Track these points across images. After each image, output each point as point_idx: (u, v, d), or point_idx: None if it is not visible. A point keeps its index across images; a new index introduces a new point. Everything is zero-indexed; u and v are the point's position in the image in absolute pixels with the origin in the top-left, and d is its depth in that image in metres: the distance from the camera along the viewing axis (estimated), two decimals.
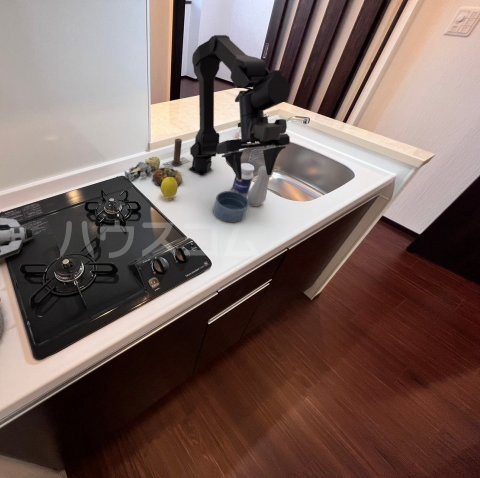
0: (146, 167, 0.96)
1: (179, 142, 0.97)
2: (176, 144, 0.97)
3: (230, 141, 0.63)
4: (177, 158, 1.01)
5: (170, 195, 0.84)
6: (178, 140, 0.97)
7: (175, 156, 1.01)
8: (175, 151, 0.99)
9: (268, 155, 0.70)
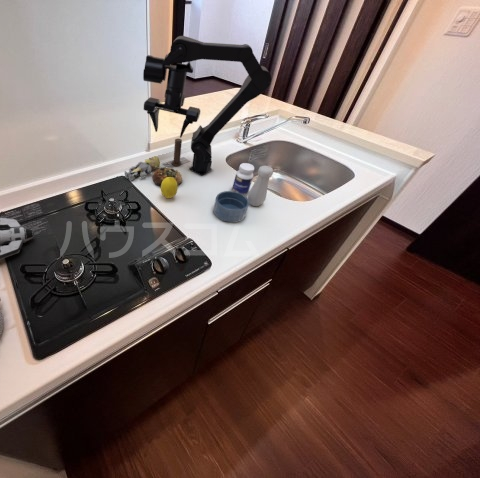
0: (146, 167, 0.96)
1: (179, 142, 0.97)
2: (176, 144, 0.97)
3: None
4: (177, 158, 1.01)
5: (170, 195, 0.84)
6: (178, 140, 0.97)
7: (175, 156, 1.01)
8: (175, 151, 0.99)
9: (156, 116, 0.90)
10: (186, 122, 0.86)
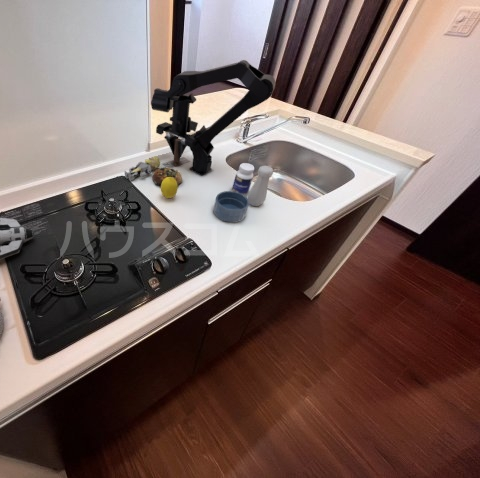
0: (146, 167, 0.96)
1: None
2: (176, 144, 0.97)
3: None
4: (177, 158, 1.01)
5: (170, 195, 0.84)
6: (178, 140, 0.97)
7: (175, 156, 1.01)
8: (175, 151, 0.99)
9: (173, 141, 0.99)
10: (179, 144, 0.94)
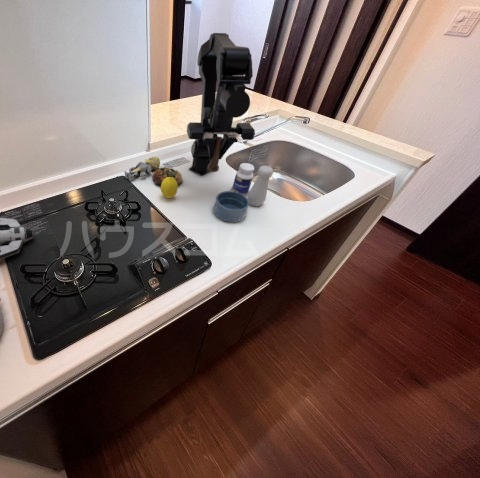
0: (146, 167, 0.96)
1: (222, 140, 0.76)
2: (219, 144, 0.76)
3: None
4: (218, 160, 0.80)
5: (170, 195, 0.84)
6: (220, 138, 0.76)
7: (216, 159, 0.79)
8: (217, 153, 0.78)
9: None
10: (231, 142, 0.74)
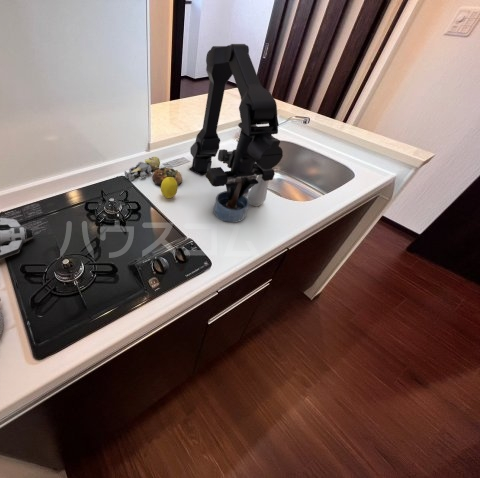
0: (146, 167, 0.96)
1: (242, 182, 0.75)
2: (240, 186, 0.75)
3: None
4: None
5: (170, 195, 0.84)
6: (240, 180, 0.74)
7: (236, 200, 0.78)
8: (237, 194, 0.77)
9: None
10: (252, 184, 0.73)
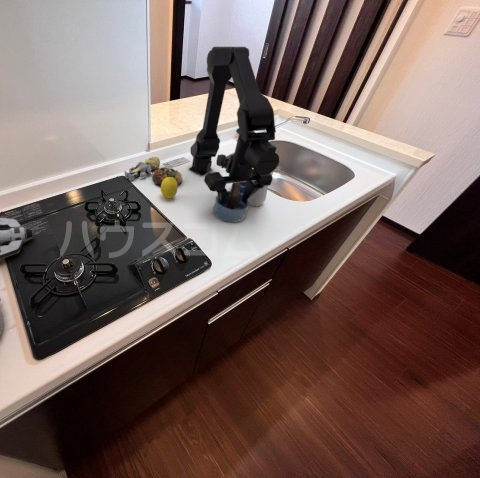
0: (146, 167, 0.96)
1: (240, 186, 0.75)
2: (238, 190, 0.75)
3: None
4: (235, 204, 0.79)
5: (170, 195, 0.84)
6: (238, 185, 0.75)
7: (234, 204, 0.79)
8: (235, 198, 0.77)
9: None
10: (257, 188, 0.74)
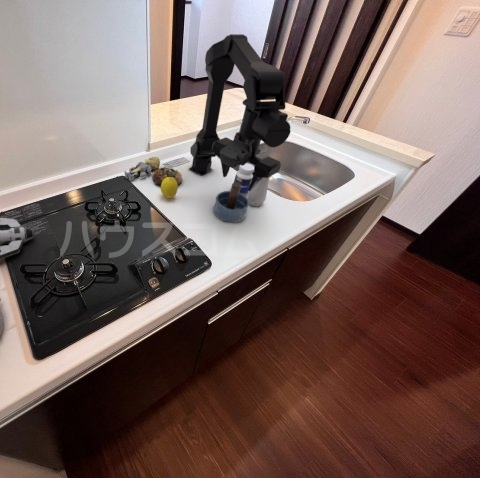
0: (146, 167, 0.96)
1: (240, 186, 0.75)
2: (238, 190, 0.75)
3: (215, 143, 0.72)
4: (235, 204, 0.79)
5: (170, 195, 0.84)
6: (238, 185, 0.75)
7: (234, 204, 0.79)
8: (235, 198, 0.77)
9: None
10: None
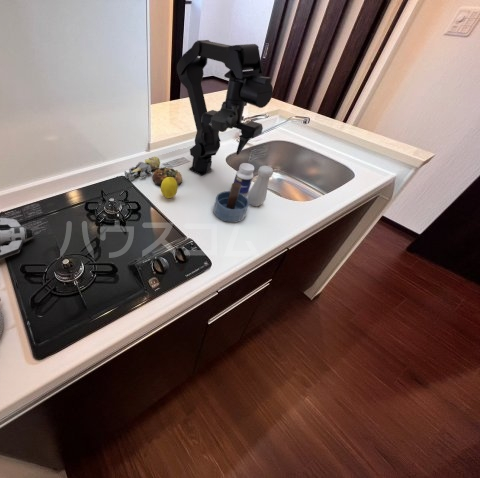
0: (146, 167, 0.96)
1: (240, 186, 0.75)
2: (238, 190, 0.75)
3: (204, 115, 0.82)
4: (235, 204, 0.79)
5: (170, 195, 0.84)
6: (238, 185, 0.75)
7: (234, 204, 0.79)
8: (235, 198, 0.77)
9: None
10: None
